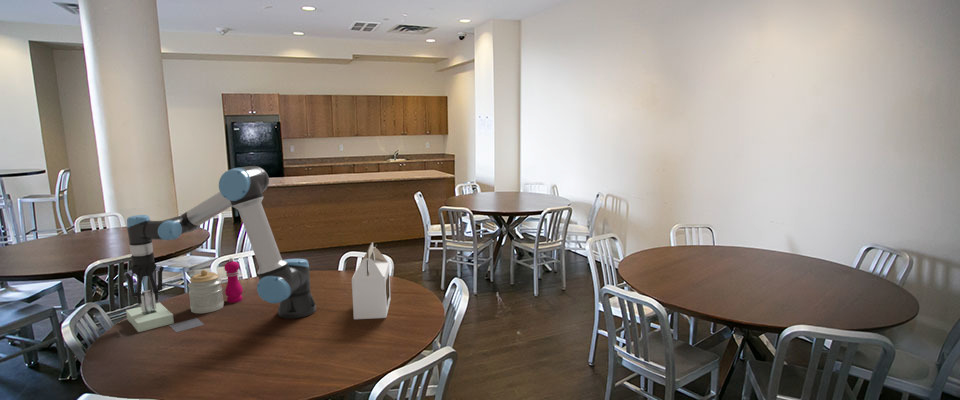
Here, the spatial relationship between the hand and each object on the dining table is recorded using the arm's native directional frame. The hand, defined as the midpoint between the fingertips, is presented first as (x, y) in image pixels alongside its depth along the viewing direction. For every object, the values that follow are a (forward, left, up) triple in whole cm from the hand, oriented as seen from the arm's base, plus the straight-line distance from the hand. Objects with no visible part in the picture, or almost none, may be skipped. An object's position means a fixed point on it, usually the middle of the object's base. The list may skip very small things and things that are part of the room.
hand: (148, 309), depth 200 cm
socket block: (0, 0, -5) cm, 5 cm away
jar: (-2, -21, -5) cm, 22 cm away
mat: (-16, -9, -5) cm, 19 cm away
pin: (0, 0, -4) cm, 4 cm away
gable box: (-56, -70, -6) cm, 90 cm away
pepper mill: (0, -33, -5) cm, 33 cm away
